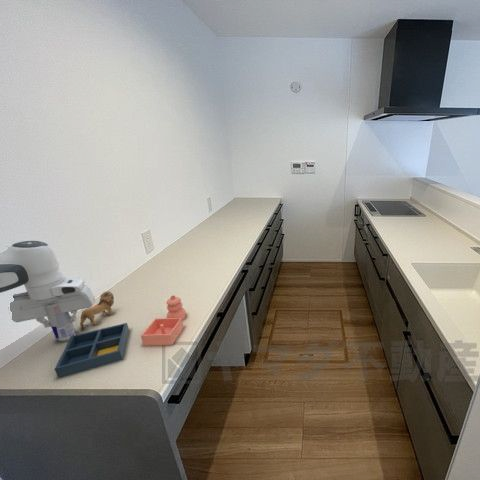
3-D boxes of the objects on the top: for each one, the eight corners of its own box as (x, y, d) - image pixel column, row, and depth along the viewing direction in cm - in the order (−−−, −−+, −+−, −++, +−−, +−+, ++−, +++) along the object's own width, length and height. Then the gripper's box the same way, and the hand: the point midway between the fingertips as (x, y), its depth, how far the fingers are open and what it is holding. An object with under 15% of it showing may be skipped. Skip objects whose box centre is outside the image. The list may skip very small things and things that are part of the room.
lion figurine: (109, 307, 108) (103, 288, 105) (121, 308, 108) (116, 289, 105) (75, 331, 95) (67, 310, 92) (89, 332, 94) (81, 311, 91)
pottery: (172, 344, 89) (166, 321, 86) (143, 345, 89) (136, 321, 85) (193, 312, 106) (189, 291, 103) (169, 313, 106) (164, 292, 102)
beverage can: (73, 330, 95) (59, 295, 90) (79, 335, 93) (65, 299, 87) (54, 339, 91) (39, 302, 86) (60, 344, 89) (44, 307, 83)
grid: (58, 378, 76) (54, 369, 75) (74, 344, 89) (71, 335, 88) (122, 359, 83) (119, 351, 82) (129, 330, 96) (126, 322, 95)
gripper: (-4, 301, 78) (14, 338, 83) (84, 285, 87) (96, 320, 92) (7, 291, 83) (24, 327, 88) (89, 277, 92) (100, 310, 97)
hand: (61, 323), depth 90 cm, fingers closed on beverage can, 5 cm apart
